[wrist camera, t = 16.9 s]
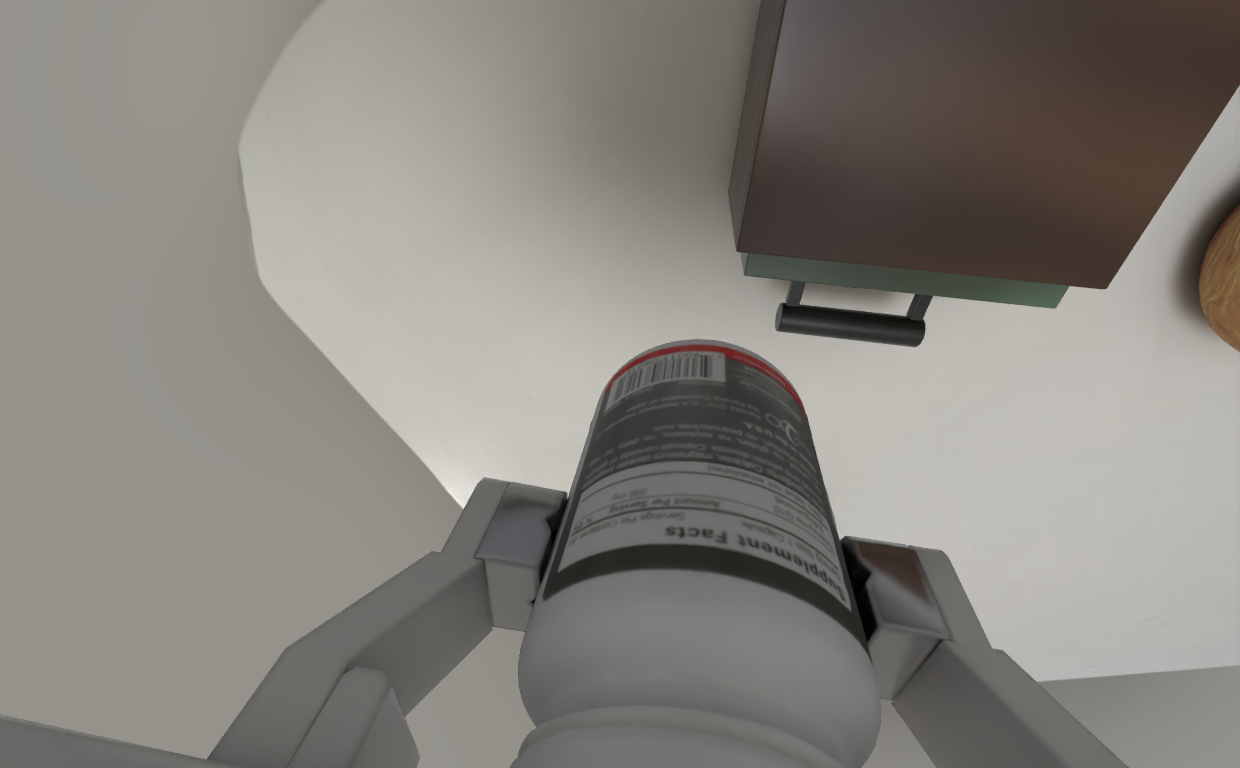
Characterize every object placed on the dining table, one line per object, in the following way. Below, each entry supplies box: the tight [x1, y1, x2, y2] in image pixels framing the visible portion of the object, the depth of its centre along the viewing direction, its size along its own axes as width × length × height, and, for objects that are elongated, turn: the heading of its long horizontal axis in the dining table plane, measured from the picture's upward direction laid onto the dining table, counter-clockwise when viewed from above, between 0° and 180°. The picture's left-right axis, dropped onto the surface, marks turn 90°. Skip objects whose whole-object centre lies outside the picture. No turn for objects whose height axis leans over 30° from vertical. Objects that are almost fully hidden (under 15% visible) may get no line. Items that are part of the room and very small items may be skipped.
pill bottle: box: [510, 339, 881, 768], centre depth 8 cm, size 5×5×8 cm
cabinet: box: [728, 0, 1240, 289], centre depth 19 cm, size 16×14×10 cm
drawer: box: [741, 252, 1069, 347], centre depth 21 cm, size 19×12×8 cm, turn 177°
